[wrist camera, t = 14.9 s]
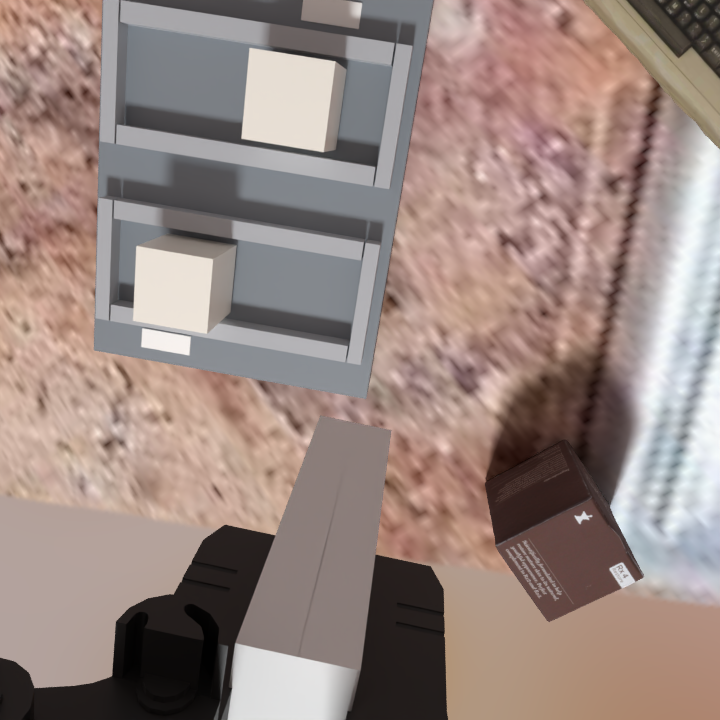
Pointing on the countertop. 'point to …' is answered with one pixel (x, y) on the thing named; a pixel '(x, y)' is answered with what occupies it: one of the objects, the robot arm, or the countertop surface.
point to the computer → (674, 50)
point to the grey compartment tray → (255, 180)
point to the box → (559, 532)
